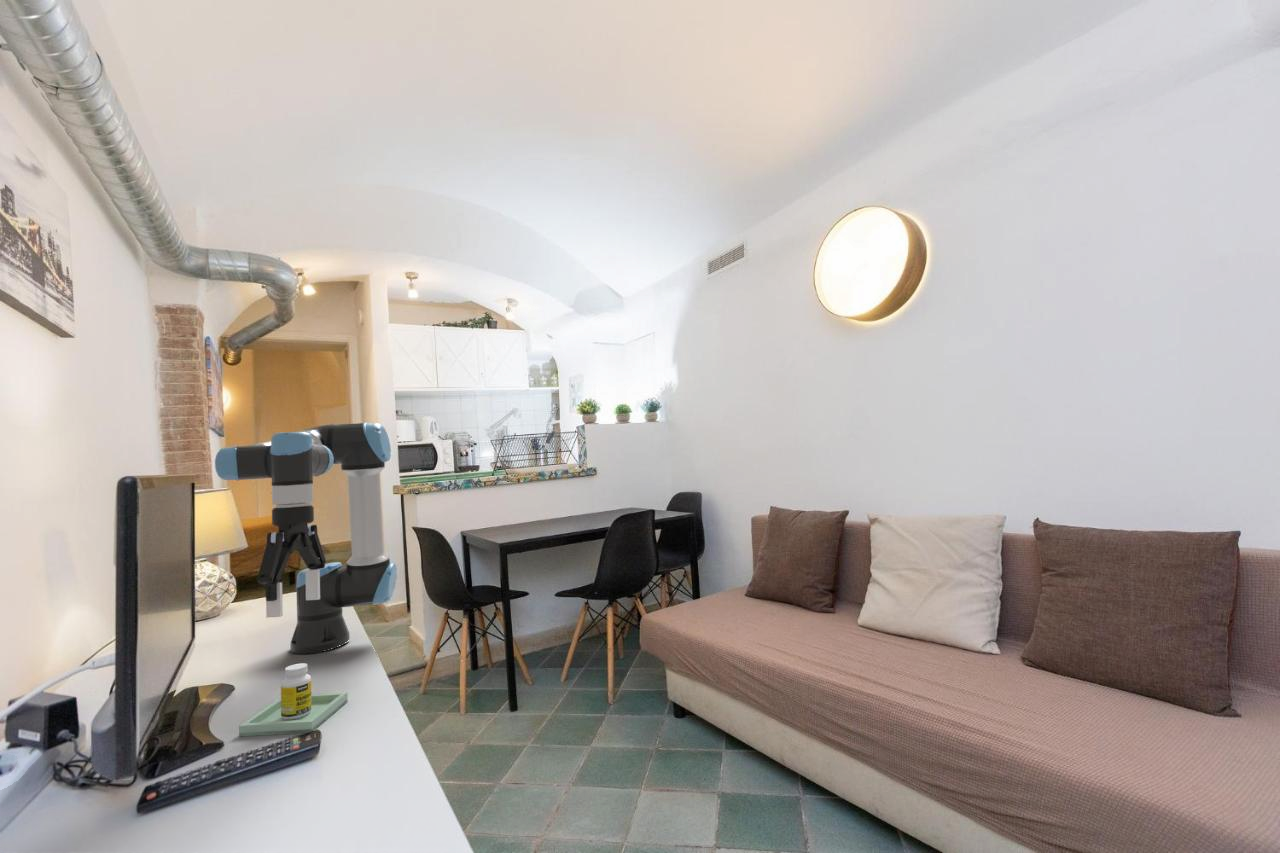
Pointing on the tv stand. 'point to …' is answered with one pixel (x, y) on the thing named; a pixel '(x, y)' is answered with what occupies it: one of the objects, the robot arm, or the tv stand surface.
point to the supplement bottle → (295, 692)
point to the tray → (274, 724)
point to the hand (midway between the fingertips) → (294, 607)
